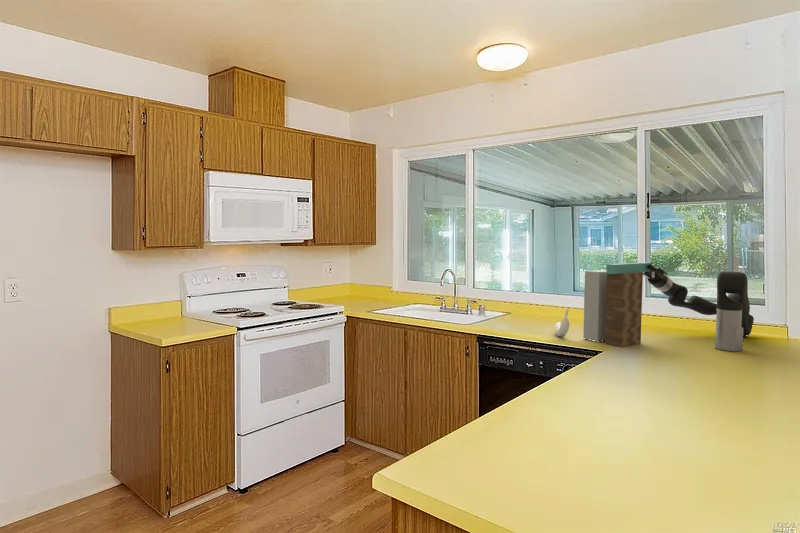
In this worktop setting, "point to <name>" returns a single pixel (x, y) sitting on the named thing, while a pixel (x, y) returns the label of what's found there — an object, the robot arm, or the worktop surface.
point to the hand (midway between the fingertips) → (641, 265)
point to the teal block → (627, 268)
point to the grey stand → (595, 305)
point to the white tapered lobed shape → (562, 326)
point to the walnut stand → (623, 309)
